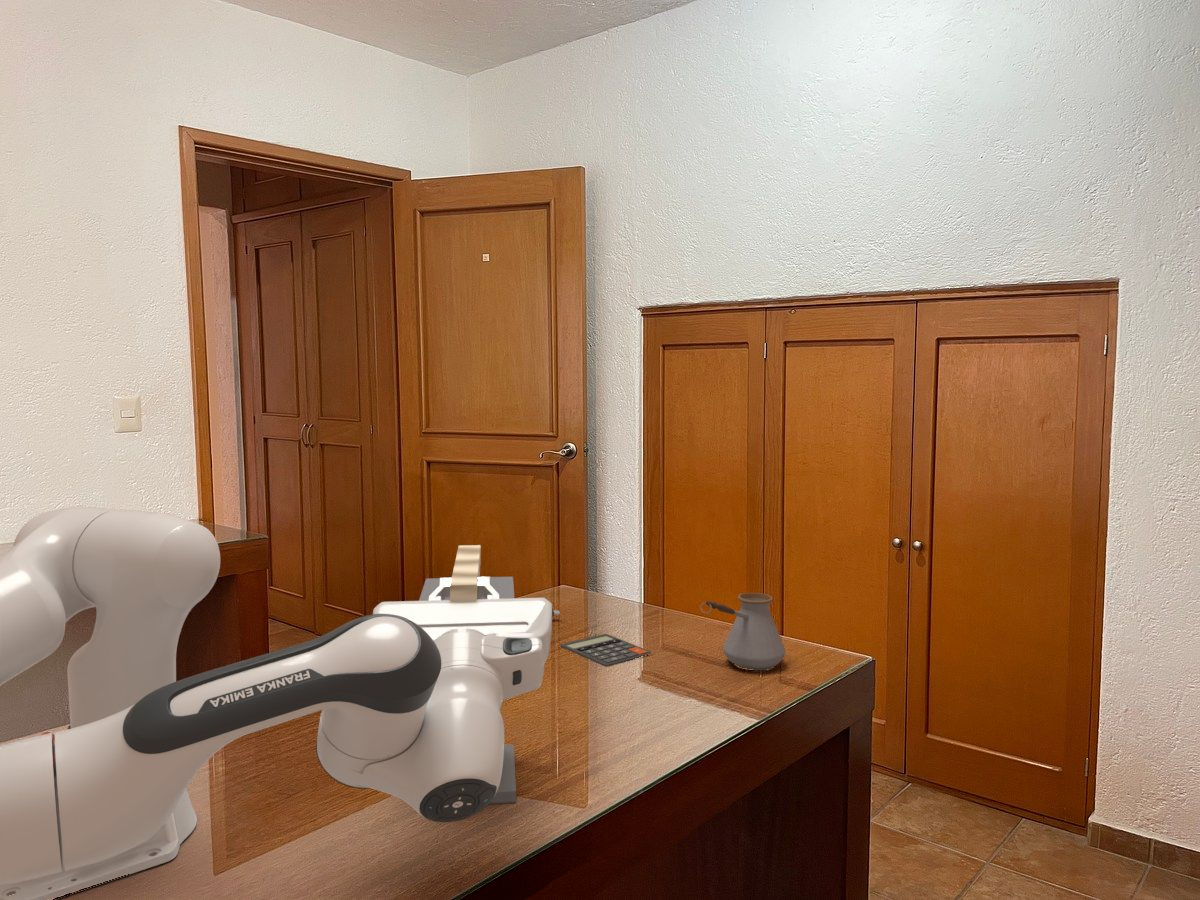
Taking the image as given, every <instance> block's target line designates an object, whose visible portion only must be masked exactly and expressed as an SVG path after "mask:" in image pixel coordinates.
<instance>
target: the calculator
mask: <svg viewBox="0 0 1200 900" xmlns="http://www.w3.org/2000/svg"><path fill="white" fill-rule="evenodd" d="M559 645H560V646H559V647H560V648H563V649H565V650H567V651H569V652H571V653H574V654H576V655H579V656H581V657H583V658H585V659H588V660H589V659H590V661H591V662H594V663H597V664H599V665H601V666H603V667H605V668H606V667H607V668H608V667H611V666H615V665H618V664H622V663H623V664H624V663H625V662H626V661H627V662H630V660H631V661H634V660H633V659H635V658H639V657H641V656H645V655H648V654H651V652H652V651H650V650H648V649H646V648H642V647H640V646H638V645H635V644H634V643H631V642H628V641H625V640H623V639H621V638H618V637H615V636H613V635H610V634H608V633H603V634H599V635H594V636H590V637H586V638H582V639H578V640H573V641H569V642H564V643H560V644H559ZM639 659H640V658H639ZM635 660H636V659H635ZM627 662H626V663H627Z"/></svg>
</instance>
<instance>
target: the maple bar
mask: <svg viewBox="0 0 1200 900" xmlns="http://www.w3.org/2000/svg"><path fill="white" fill-rule="evenodd" d="M457 547H458V548H457V551H456V557H455V561H454V566H453V571H452V575H451V577H452V579H451V583H450V601H477V599H478V587H477V584H478V577H481V563H482V560H481V558H482V557H481V555H482V552H481V551H482V549H481V544H477V545H476V544H475V545H473V544H470V545H469V544H468V545H467V544H466V545H465V544H463V545H461V544H460V545H458V546H457Z"/></svg>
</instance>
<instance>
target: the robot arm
mask: <svg viewBox="0 0 1200 900" xmlns="http://www.w3.org/2000/svg"><path fill="white" fill-rule="evenodd" d="M220 569H221V552H220V547H219V543H218V541H217V539H216V537H215V536H214V534H213V533H212V532H211V531H210V529H208V528H207V527H206V526H204V525H201V524H199V523H197V522H194V521H193V520H190V519H187V518H184V517H181V516H178V515H176V514H172V513H166V512H158V511H157V512H155V511H143V510H135V509H134V510H133V509H132V510H131V509H117V508H106V507H105V508H103V507H94V506H93V507H92V506H91V507H90V506H83V505H82V506H81V505H80V506H72V507H66V508H64V507H63V508H59V509H54V510H49V511H45V512H42V513H39V514H37V515H34V516H33V517H32V518H30V519H29V520H27V522H26V523H24V525H23V526H22V527H21V528H20V529H19V531H18V533H17V534H16V536H15V539H14V541H13V546H12V548H10V549H9V550H8V551H6V552H5V553H4V554H2V555H1V556H0V687H1V686H2V685H4V684H6V683H7V682H9V681H10V680H12V679H13V678H15V677H16V676H18V675H20V674H22V673H24V672H25V671H27V670H29V669H30V668H32V667H33V666H35V665H36V664H38V663H40V662H41V661H43V660H44V659H46V658H48V657H49V656H51V655H52V654H54V653H55V652H56V651H57V649H58V648H59V647H60V645H61V644H62V642H63V639H64V636H65V631H66V624H67V622H68V621H69V620H70V619H71V618H73V617H74V616H75V615H77V614H78V613H80V612H82V611H84V610H89V609H91V608H96V609H95V610H96V616H95V617H96V618H95V623H94V628H93V632H92V635H91V637H90V640H89V641H88V642H86V643H84V644H83V645H81V647H80V648H77V650H75V652H74V653H73V655H72V656H71V657H70V659H69V661H68V665H67V669H66V673H67V689H68V707H69V709H68V710H69V722H70V724H69V725H68V727H67V728H66V729H63V730H58V731H56V732H55V731H54V733H52V732H50V731H45V732H42V733H40V735H36V736H32V737H27V738H23V739H20V740H16V741H12V742H8V743H4V744H1V745H0V900H47V899H52V898H56V897H58V896H61V895H63V894H66V893H70V892H72V891H76V890H79V889H82V888H86V887H88V886H92V885H96V884H99V883H102V884H104V883H103V882H105V881H108V882H110V881H109V880H111V881H113V880H112V879H114V878H117V877H120V878H122V877H121V876H123V877H125V876H124V875H126V876H129V875H132V874H135V873H137V872H138V873H139V872H141V871H144V870H147V869H150V868H153V867H156V866H159V865H161V864H165V863H167V862H170V861H171V860H173V859H175V858H176V856H178V853H179V850H180V846H181V844H182V843H183V842H184V841H185V840H186V839H187V838H188V837H189V836H190V834H191V833H193V831H194V830H195V829H196V825H197V822H198V817H197V816H198V815H197V814H196V812H195V809H194V807H193V805H192V802H191V799H190V795H189V792H188V787H189V785H190V784H191V783H192V781H193V779H194V778H195V777H196V775H197V774H198V773H199V772H200V770H201V769H203V766H205V764H206V763H207V762H208V761H209V760H210V759H211V758H212V757H213V756H214V755H216V754H217V752H218V751H220V750H221V749H222V748H224V747H225V746H227V745H228V744H230V743H231V742H234V741H235V740H237V739H240V738H241V737H243V736H246V735H249V734H251V733H255V732H259V731H261V730H264V729H267V728H271V727H273V726H277V725H280V724H282V723H286V722H289V721H291V720H294V719H298V718H302V717H305V716H307V715H310V714H313V713H318V712H320V711H321V713H320V716H319V722H318V723H319V724H318V728H317V729H318V730H317V739H316V745H315V751H316V756H317V760H318V762H319V765H320V766H321V768H322V769H323V771H324V772H325V773H326V774H327V775H328V776H329V777H330V778H331V779H333V780H334V781H336V782H337V783H339V784H341V785H344V786H346V787H349V788H354V789H361V790H362V789H363V790H376V791H378V792H383V793H384V794H388V795H390V796H393V797H395V798H398V799H400V800H402V801H403V802H405V803H406V804H408V805H409V806H410V807H412V809H414V811H416V813H417V814H418V815H420V817H422V818H424V819H426V820H428V821H431V822H434V823H435V822H436V823H453V822H459V821H463V820H466V819H469V818H470V817H472V816H475V815H476V814H479V813H480V812H481V811H483V810H484V809H485V808H486V807H487V806H488V805H490V804H489V803H490V802H491V801H492V799H493V798H494V796H495V794H496V792H497V790H498V788H499V785H500V780H501V775H502V769H503V758H504V745H505V725H504V724H505V722H504V720H503V719H504V718H503V716H502V714H501V707H502V705H503V701H505V700H508V699H511V698H514V697H517V696H520V695H523V694H526V693H530V692H533V691H536V690H538V689H539V688H541V685H542V682H543V679H544V678H543V677H544V672H545V671H544V670H545V663H546V662H547V659H548V658H549V655H550V649H551V641H552V630H553V629H552V627H553V617H552V608H553V604H552V602H550V601H549V600H548V599H547V598H546V597H520V598H519V597H518V598H517V597H514V598H509V599H499V594H498V593H497V592H496V591H495V589H494V588H493V587H492V586H491V585H490V577H491V576H490V575H489V576H480V577H478V584H477V587H478V596H485V598H486V599H477V601H450V600H444V599H445V597H450V583H451V579H452V576H451V577H446V576H445V577H444V576H443V577H439V578H440V583H439V587H437V588H436V589H435V591H434V592H433V593H432V594H431V595H430V596H429V601H419V600H404V601H402V600H400V601H381V602H380V603H378V604H377V605H376V606H375V607H374V608H373V611H372V614H368V615H364V616H360V617H358V618H355V619H353V620H349V621H348V622H346V623H344V624H342V625H340V626H338V627H336V628H335V629H333V630H331V631H329V632H326V633H325V634H323V635H321V636H318V637H315V638H314V639H310V640H308V641H304V642H302V643H301V642H300V643H298V644H295V645H290V646H288V647H285V648H282V649H278V650H274V651H270V652H269V653H268V652H267V653H263V654H260V655H257V656H254V657H251V658H247V659H244V660H240V661H237V662H233V663H229V664H227V665H224V666H220V667H217V668H214V669H210V670H207V671H204V672H201V673H197V674H194V675H191V676H188V677H185V678H182V679H180V680H177V648H178V644H179V638H180V635H181V632H182V628H183V626H184V623H185V621H186V619H187V617H188V615H189V613H190V612H191V611H192V610H193V608H194V607H195V606H196V605H197V604H198V603H200V602H201V601H202V600H203V599H204V598H206V596H207V595H208V594H209V593H210V591H211V590H212V589H213V587H214V586H215V584H216V582H217V579H218V576H219V573H220ZM128 874H129V875H128ZM117 879H118V878H117ZM114 880H115V879H114ZM105 883H106V882H105ZM99 885H100V884H99ZM96 886H97V885H96ZM12 894H14V895H12ZM9 895H11V896H9Z"/></svg>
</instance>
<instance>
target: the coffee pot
mask: <svg viewBox="0 0 1200 900" xmlns="http://www.w3.org/2000/svg"><path fill="white" fill-rule="evenodd" d="M737 599H738V601H739V603H740V609H739V610H735V609H733V608H731V607H728V606H727V605H725V604H720V603H717V602H716V601H713V602H712V601H711V600H710V601H709V600H707V601H705V602H703V603H701V604H700V610H701V612H703V613H704V614H708V613H711V611H712V609H713V610H717V611H719V612H721V613H726V614H729V615H734V616H736V618H735V620H734V622H733V624H732V626H731V628H730V631H729V633H728V635H727V637H726V639H725V642H724V643H723V646H722V651H723V653H724V655H725V657H726V658H727V660H729V662H731V663H732V664H733V663H734V664H735V665H737V666H739V667H742V668H747V669H753V670H767V669H770V670H772V669H771V668H772V667H774V666H777V665H779V664H780V663H781V662H782V661H783V660H784V657H785V655H786V649H785V646H784V643H783V640H782V638H781V637H780V636H781V635H780V633H779V631H778V628H777V626H776V623H775V620H774V618H773V616H772V613H771V611H770V605H771V603H772V602H773V599H774V598H773V596H771V595H769V594H767V593H760V592H744V593H739V594H738V596H737ZM705 604H706V606H708V607H710V609H709V611H704V610H703V609H702V606H703V605H705ZM774 668H775V667H774ZM767 671H768V670H767Z"/></svg>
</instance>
